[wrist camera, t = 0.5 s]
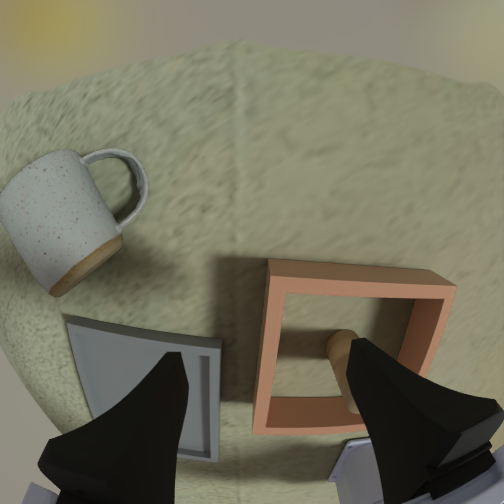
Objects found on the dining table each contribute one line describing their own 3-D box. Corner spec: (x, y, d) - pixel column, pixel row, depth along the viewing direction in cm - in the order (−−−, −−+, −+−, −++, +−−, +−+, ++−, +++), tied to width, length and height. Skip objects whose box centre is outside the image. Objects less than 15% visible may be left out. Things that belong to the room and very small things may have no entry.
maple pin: (354, 359, 23) (380, 411, 16) (322, 359, 23) (341, 415, 16) (362, 329, 22) (394, 379, 15) (329, 329, 22) (353, 382, 15)
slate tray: (219, 453, 26) (218, 462, 25) (105, 429, 26) (101, 438, 25) (222, 339, 22) (220, 349, 21) (74, 315, 22) (66, 322, 21)
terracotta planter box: (388, 399, 24) (402, 424, 20) (252, 403, 24) (252, 434, 20) (431, 270, 21) (457, 285, 17) (268, 258, 21) (270, 275, 17)
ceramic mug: (86, 283, 22) (33, 320, 14) (40, 207, 20) (-21, 220, 13) (177, 208, 20) (138, 222, 13) (121, 124, 19) (65, 102, 11)
